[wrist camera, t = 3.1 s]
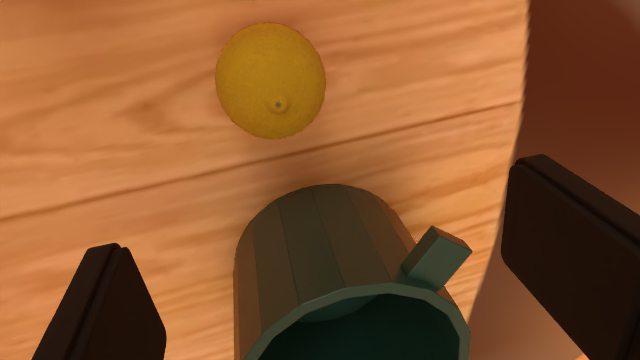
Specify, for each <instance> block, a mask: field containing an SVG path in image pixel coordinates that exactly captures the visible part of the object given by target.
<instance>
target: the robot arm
mask: <svg viewBox="0 0 640 360" xmlns="http://www.w3.org/2000/svg"><path fill="white" fill-rule="evenodd" d="M501 255H502V258H503V260H504V262H505V264H506V265H507V266H508V267H509V268H510V270H511V271H512V272H513V273H514V274H515V275H516V276H517V278H518V279H519V280H520V281H521V282H522V283H523V284H524V285H525V287H526V288H527V289H528V290H529V291H530V292H531V293H532V295H533V296H534V297H535V298H536V299H537V300H538V302H539V303H540V304H541V305H542V306H543V307H544V308H545V309H546V311H547V312H548V313H549V314H550V315H551V316H552V317H553V319H554V320H555V321H556V322H557V323H558V324H559V325H560V326H561V328H562V329H563V330H564V331H565V332H566V333H567V334H568V336H569V337H570V338H571V339H572V340H573V341H574V342H575V344H576V345H577V346H578V347H579V348H580V349H581V350H582V352H583V353H584V354H585V355H586V356H587V357H588V358H589V360H640V215H638V214H637V213H635V212H633V211H632V210H630V209H629V208H627V207H626V206H624V205H623V204H621V203H619V202H618V201H616V200H615V199H613V198H612V197H610V196H608V195H607V194H605V193H604V192H602V191H600V190H599V189H598V188H596V187H594V186H593V185H591V184H590V183H588V182H586V181H585V180H584V179H582V178H580V177H579V176H577V175H575V174H574V173H573V172H571V171H569V170H568V169H566V168H565V167H563V166H562V165H560V164H559V163H557V162H555V161H554V160H552V159H551V158H549V157H548V156H546V155H544V154H539V155H534V156H529V157H524V158H519V159H518V160H517V161H516V163H515V165H514V166H512V167H511V168H510V171H509V179H508V188H507V197H506V206H505V216H504V225H503V235H502V244H501ZM165 348H166V331H165V327H164V325H163V323H162V320H161V318H160V316H159V314H158V312H157V309H156V307H155V305H154V303H153V301H152V298H151V296H150V294H149V292H148V290H147V287H146V285H145V283H144V281H143V279H142V276H141V274H140V272H139V270H138V268H137V265H136V263H135V261H134V259H133V257H132V254H131V252H130V250H129V249H128V248H127V247H123V248H121V247H120V246H119V245H118V244H117V243H111V244H107V245H102V246H97V247H92V248H89V249H88V250H87V251H86V253H85V255H84V257H83V259H82V261H81V263H80V265H79V267H78V269H77V271H76V273H75V275H74V277H73V279H72V281H71V283H70V285H69V287H68V289H67V291H66V293H65V295H64V297H63V299H62V301H61V303H60V305H59V307H58V309H57V311H56V313H55V315H54V317H53V319H52V321H51V322H50V324H49V326H48V328H47V330H46V332H45V334H44V336H43V338H42V340H41V342H40V344H39V346H38V348H37V349H36V351H35V353H34V355H33V357H32V359H31V360H163V359H164V353H165Z"/></svg>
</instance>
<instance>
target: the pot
mask: <svg viewBox="0 0 640 360" xmlns="http://www.w3.org/2000/svg"><path fill="white" fill-rule="evenodd" d="M471 253H472V250H471V249H470V248H469V246H468V245H467V244H466V243H465V242H464V241H463V240H461V239H459V238H457V237H455V236H453V235H451V234H449V233H447V232H445V231H443V230H440V229H438V228H436V227H434V226H431V227H430V228H429V229H428V230H427V232H426V233H425V234H424V236H423V237H422V238H421V239H420V241H419V242H418V243H417V244H416V243H415V241H414V240H413V238H412V237H411V235H410V234H409V232H408V231H407V229H406V228H405V226H404V225H403V223H402V222H401V220H400V219H399V217H398V216H397V214H396V213H395V211H394V210H392V209H391V208H390V207H389V206H388V205H387V204H386V203H385V202H384V201H383V200H381V199H380V198H379V197H377V196H375V195H374V194H372V193H370V192H368V191H365V190H363V189H360V188H356V187H352V186H347V185H339V184H325V185H316V186H311V187H306V188H302V189H299V190H296V191H294V192H291V193H288V194H286V195H284V196H282V197H280V198H278V199H277V200H275V201H274V202H272V203H271V204H269V205H268V206H267V207H265V208H264V209H263V210H262V211H261V212H259V213H258V214H257V215H256V217H255V218H254V219H253V220H252V221H251V222H250V223H249V225H248V226H247V228H246V229H245V230H244V232H243V234H242V236H241V238H240V240H239V243H238V246H237V249H236V254H235V263H234V271H233V295H234V360H469V355H470V337H471V332H470V330H469V328H468V326H467V324H466V322H465V320H464V318H463V316H462V314H461V312H460V310H459V308H458V306H457V305H456V303H455V302H454V300H453V299H452V297H451V296H450V294H449V293H448V291H447V290H446V288H445V287H444V285H445V284H446V283H447V281H448V280H449V279H450V278H451V277H452V275H453V274H454V273H455V272H456V271H457V270H458V268H459V267H460V266H461V265H462V264H463V263H464V261H465V260H466V259H467V258H468V257H469V255H470V254H471Z"/></svg>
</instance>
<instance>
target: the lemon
mask: <svg viewBox="0 0 640 360" xmlns="http://www.w3.org/2000/svg"><path fill="white" fill-rule="evenodd" d="M215 82H216V90H217V95H218V97H219V100H220V102H221V105H222V107H223V109H224V110H225V112H226V113H227V115H228V116H229V117H230V119H231V120H232V121H233V122H234V123H235V124H236V125H238V126H239V127H240V128H241V129H242V130H244V131H246V132H248V133H250V134H252V135H254V136H257V137H261V138H265V139H281V138H285V137H289V136H292V135H294V134H296V133H298V132H300V131H302V130H303V129H305V128H306V127H307V126H308V125H309V124H310V123H311V122H312V121H313V120H314V118H315V117H316V116H317V114H318V113H319V111H320V108H321V106H322V103H323V101H324V96H325V89H326V79H325V71H324V67H323V64H322V61H321V59H320V56H319V54H318V52H317V51H316V50H315V48H314V47H313V45H312V44H311V43H310V41H309V40H307V39H306V38H305V37H304V36H303V35H301V34H300V33H299V32H298V31H296V30H294V29H292V28H289V27H287V26H285V25H280V24H275V23H262V24H255V25H252V26H250V27H247V28H244V29H242V30H241V31H240V32H238V33H237V34H236V35H234V36H233V37H232V38H231V39H230V40H229V42H228V43H227V44H226V45H225V47H224V48H223V50H222V52H221V54H220V57H219V59H218V61H217V66H216V73H215Z"/></svg>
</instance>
